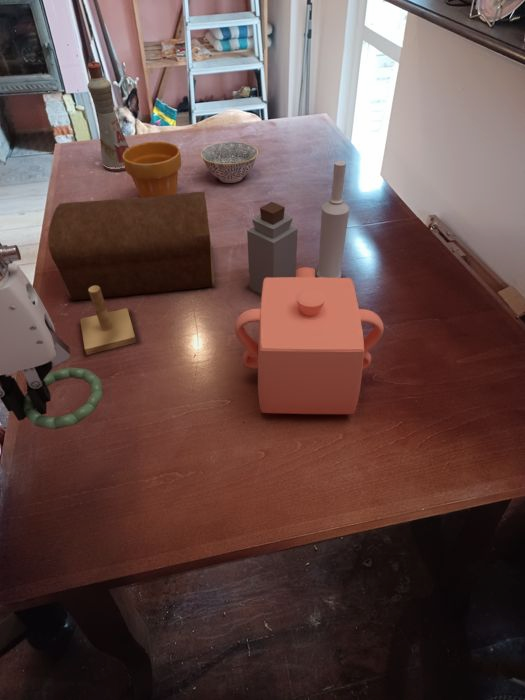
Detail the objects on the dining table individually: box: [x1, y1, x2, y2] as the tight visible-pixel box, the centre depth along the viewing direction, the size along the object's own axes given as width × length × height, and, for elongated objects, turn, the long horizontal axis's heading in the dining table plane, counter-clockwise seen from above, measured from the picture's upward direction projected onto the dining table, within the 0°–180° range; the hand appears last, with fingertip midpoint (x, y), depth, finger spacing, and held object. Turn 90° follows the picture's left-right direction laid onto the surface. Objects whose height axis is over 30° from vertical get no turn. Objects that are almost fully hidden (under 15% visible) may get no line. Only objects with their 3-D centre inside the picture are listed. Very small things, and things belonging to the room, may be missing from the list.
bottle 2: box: [316, 160, 351, 278], centre depth 92 cm, size 5×5×25 cm
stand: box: [79, 286, 137, 356], centre depth 86 cm, size 9×9×10 cm
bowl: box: [199, 141, 259, 184], centre depth 135 cm, size 16×16×8 cm
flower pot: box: [122, 141, 182, 198], centre depth 123 cm, size 14×14×13 cm
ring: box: [24, 366, 104, 430], centre depth 53 cm, size 8×8×1 cm
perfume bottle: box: [246, 201, 298, 296], centre depth 93 cm, size 7×7×18 cm
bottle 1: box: [87, 61, 130, 172], centre depth 135 cm, size 9×9×28 cm
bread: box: [47, 191, 216, 301], centre depth 98 cm, size 18×30×16 cm, turn 98°
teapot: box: [234, 266, 385, 415], centre depth 77 cm, size 25×23×18 cm
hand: (32, 407), depth 53 cm, fingers closed on ring, 1 cm apart
